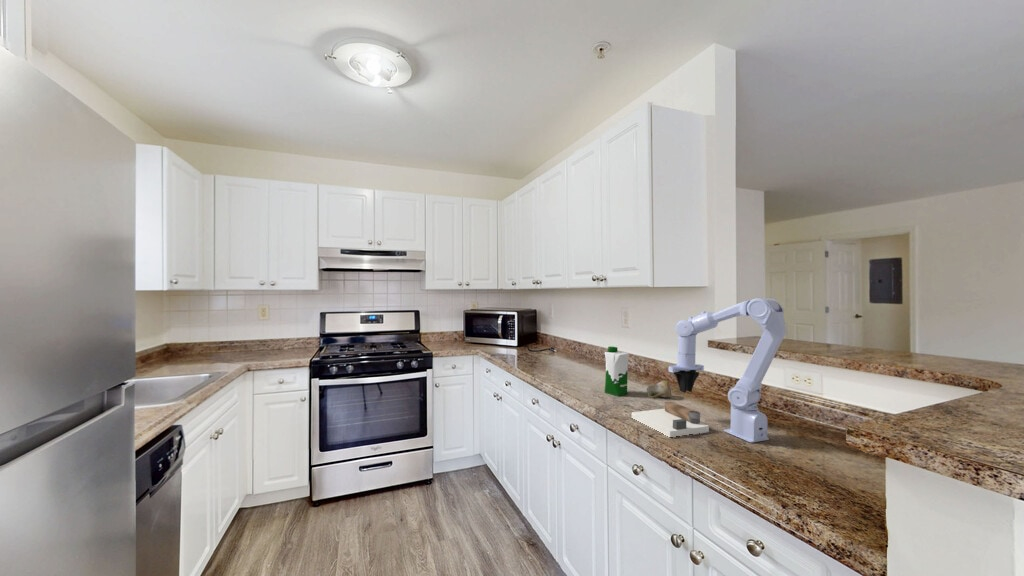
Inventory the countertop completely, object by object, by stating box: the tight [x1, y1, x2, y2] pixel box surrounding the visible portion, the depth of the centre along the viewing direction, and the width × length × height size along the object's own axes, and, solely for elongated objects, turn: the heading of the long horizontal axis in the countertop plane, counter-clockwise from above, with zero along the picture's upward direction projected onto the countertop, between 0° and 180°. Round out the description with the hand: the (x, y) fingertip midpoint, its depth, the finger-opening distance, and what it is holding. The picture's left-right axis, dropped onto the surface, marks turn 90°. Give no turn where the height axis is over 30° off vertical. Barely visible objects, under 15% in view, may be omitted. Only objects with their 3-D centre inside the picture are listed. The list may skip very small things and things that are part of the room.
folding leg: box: [664, 401, 701, 423], centre depth 124 cm, size 13×3×3 cm, turn 20°
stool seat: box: [631, 408, 710, 438], centre depth 122 cm, size 18×16×4 cm
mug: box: [646, 380, 673, 399], centre depth 156 cm, size 8×10×10 cm
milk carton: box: [604, 346, 630, 397], centre depth 159 cm, size 9×9×20 cm
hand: (685, 391), depth 130 cm, fingers open, 2 cm apart
